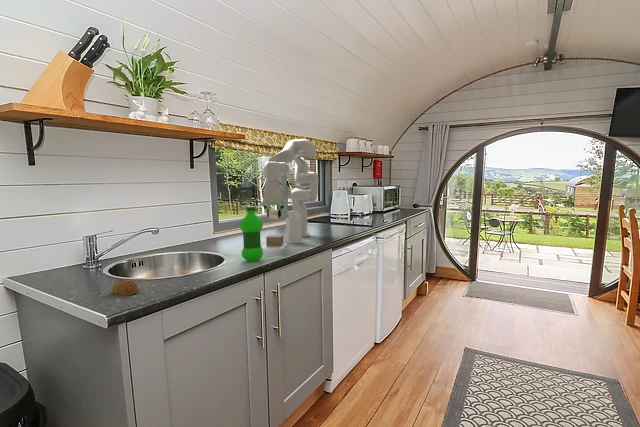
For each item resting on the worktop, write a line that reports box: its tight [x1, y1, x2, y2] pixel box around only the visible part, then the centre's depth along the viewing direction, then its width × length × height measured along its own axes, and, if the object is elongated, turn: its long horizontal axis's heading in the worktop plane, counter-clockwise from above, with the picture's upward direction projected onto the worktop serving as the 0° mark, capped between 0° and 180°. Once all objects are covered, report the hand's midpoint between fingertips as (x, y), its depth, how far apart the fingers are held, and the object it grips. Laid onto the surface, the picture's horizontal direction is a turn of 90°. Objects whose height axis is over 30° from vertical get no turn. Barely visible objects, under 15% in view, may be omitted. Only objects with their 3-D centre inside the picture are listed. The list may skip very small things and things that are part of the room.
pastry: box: [111, 279, 140, 296], centre depth 114 cm, size 9×7×4 cm
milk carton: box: [285, 210, 303, 244], centre depth 197 cm, size 7×7×19 cm
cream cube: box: [268, 208, 280, 220], centre depth 188 cm, size 5×5×5 cm
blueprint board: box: [261, 242, 289, 250], centre depth 186 cm, size 16×13×1 cm
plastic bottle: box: [239, 205, 264, 263], centre depth 156 cm, size 10×10×25 cm
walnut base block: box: [265, 234, 284, 246], centre depth 190 cm, size 8×8×5 cm
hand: (274, 217), depth 188 cm, fingers closed on cream cube, 5 cm apart
